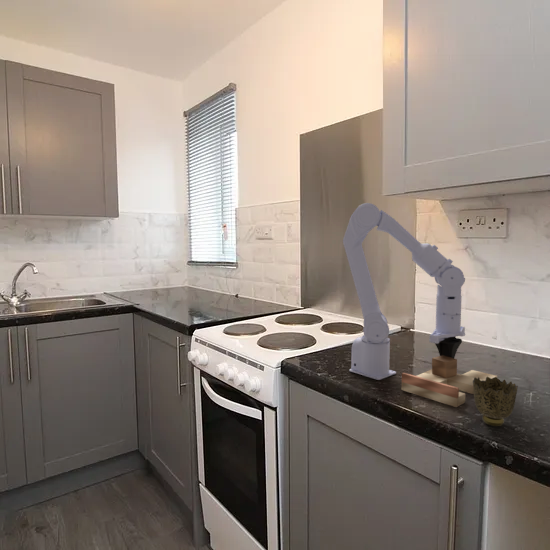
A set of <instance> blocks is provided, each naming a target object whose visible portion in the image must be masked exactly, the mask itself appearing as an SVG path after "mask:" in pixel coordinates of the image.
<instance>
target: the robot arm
mask: <svg viewBox="0 0 550 550" xmlns="http://www.w3.org/2000/svg"><path fill="white" fill-rule="evenodd" d="M348 220H349V221H348V223H347V227H346V230H345V232H344V235H343V239H342V243H343V247H344V251H345V254H346V258H347V262H348V266H349V269H350V272H351V273H350V274H351V275H352V280H353V284H354V286H355V289H356V290H355V291H356V293H357V297H358V301H359V305H360V308H361V314H362V317H363V328H362V329H363V332H362V333H363V335H362V336H358V337H356V338H355V339H354V340H353V342H352V345H351V366H350V367H351V368H350V369H349V372H350V373H353V374H354V373H355V374H358V375H360V376H361V375H362V376H363V377H367V378H370V379H374V380H378V381H380V380H383V379H386V378H389V377H391V376H393V375H396V374H397V371H395V370H392V369H390V356H391V355H390V348H391V347H390V346H391V345H390V344H391V342H390V341H391V338H390V337H389V336H390V335H389V334H390V327H389V324H388V320H387V317H386V316H385V315H384V314H383V312H382V311H381V307H380V305H379V301H378V298H377V295H376V294H377V293H376V291H375V286H374V284H373V279H372V276H371V273H370V269H369V266H368V262H367V258H366V255H365V252H364V248H363V243H364V241H365V240H366V237H367V236H368V233H370V232H371V231H372V230H373V229H374V228H375V227H377V228H376V231H379V232H384V233H387V234H389V235H390V236H391V237H392V238H393V239H395V240H396V241H397V242H398V243H400V244H401V245H402V246H403V247H405V248H406V249H407V250H408V251H410V252H411V259H412V261H413V262H414V263H415V264H416V265H417V266H418V267H420V268H421V269H422V270H423V272H425V273H426V274H427V275H428V276H429V277H431V278H434V280H435V283H436V284H437V286H436V287H437V290H436V306H435V309H436V310H435V328H434V330H433V331H432V333H431V334H429V337H428V338H429V343H431V344H434V345H435V346H436V348H437V351H438V353H439V356H442V355H444V356H447V357H451V358H454V359H456V358H455V357H456V355H457V352H458V349H459V347H460V345H461V344H462V342H463V339H462V338H459V337H465V336H466V332H465V331H466V330H465V329H466V327H465V326H461V321H462V287H463V285H464V284H465V281H466V277H465V275H464V272H463V271H462V270H461V269H460V268H459V267H457V266H455V265H453V262H454V261H453V260H452V259H450V258H447V257H445V256H444V255H443V254H442V253H441V252H439V248H438V246H437V245H435V244H433V245H431V244H430V243H421V242H419V240H418V239H417V238H415V237H414V236H413V234H411V233H410V232H409V231H408V230H407V229H406V228H404V226H403V225H401V224H400V223H399V222H398V221H397V220H396V219H395V218H393V216H392V215H389V214H388V213H387V212H385V211H384V210H382V209H379V207H377V206H376V205H375V204H373V203H372V202H365V203H362V204H359V205H358V206H357V208H356V209H355V210H354V211H353V213H352V214H351V216H350V218H349V219H348Z"/></svg>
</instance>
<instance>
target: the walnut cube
mask: <svg viewBox="0 0 550 550" xmlns="http://www.w3.org/2000/svg"><path fill="white" fill-rule="evenodd" d="M431 369H432V374H434V375H437V376H440V377H443V378H450V377H453V376H456V375H457V374H458V358H451V357H447V356H444V355H442V356H440V355H439V356H435V357H432V358H431Z"/></svg>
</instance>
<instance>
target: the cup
mask: <svg viewBox="0 0 550 550" xmlns="http://www.w3.org/2000/svg"><path fill="white" fill-rule="evenodd" d="M473 388H474V394H473V398H474V404H475V407H476V409H477V411H478V412H479V413H480V414H482V417H481V418H482V421H483V422H484V423H485V424H487V425H489V426H492V427H502V426H503V425H504V423H505V419H507V418H509V417H510V415H511V414H512V413H513V411H514V407H515V403H516V399H517V392H518V385H516V383H513V382H512V381H510V382H507V381H506V379H503V381H501V379H499V378H498V376H497V377H494V378H492V379H491V378H489V377H486V380H485V381H484V380H482V381H481V380H480V378H479V377H478V379H477V378H474V380H473Z"/></svg>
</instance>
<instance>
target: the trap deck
mask: <svg viewBox="0 0 550 550" xmlns="http://www.w3.org/2000/svg"><path fill="white" fill-rule="evenodd" d="M478 377H479V378H480V380H481V381H482V380H484V381H485V380H486V377H489V378H491V379H492V378H494V377H497V378H498V375H495V374H492V373H491V374H490V373H487V372H484V371H483V372H482V371H480V370H479V371H478V370H475V369H471V370H469V371H467V372H464V373H463V374H460V373H457V375H456V376H453V377H450V378H443V377H440V376H437V375H434V374H432V368H431V369H429V370H427V371H425V372H422V373H420V374H417V375H414V374H410V373H407V372H402V373H401V391H404V392H407V393H411V394H413V395H417V396H419V397H422V398H426V399H429V400H433V401H435V402H439V403H442V404H444V405H448V406H451V407H454V408H457V407H460V406H461V405H463V404H464V403H466V393H468V394H471V395H474V388H473V380H474V378H477V379H478Z"/></svg>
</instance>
